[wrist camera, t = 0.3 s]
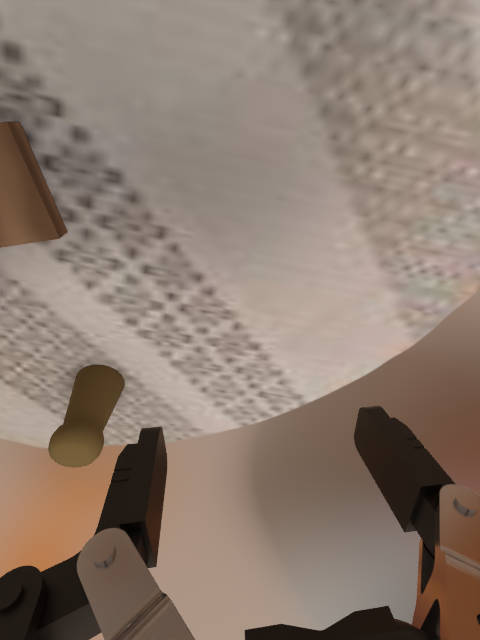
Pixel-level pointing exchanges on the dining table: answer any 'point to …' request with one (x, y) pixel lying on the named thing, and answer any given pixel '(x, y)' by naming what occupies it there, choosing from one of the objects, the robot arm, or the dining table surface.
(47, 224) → the walnut stand
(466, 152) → the dining table surface
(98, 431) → the cork
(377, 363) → the dining table surface
